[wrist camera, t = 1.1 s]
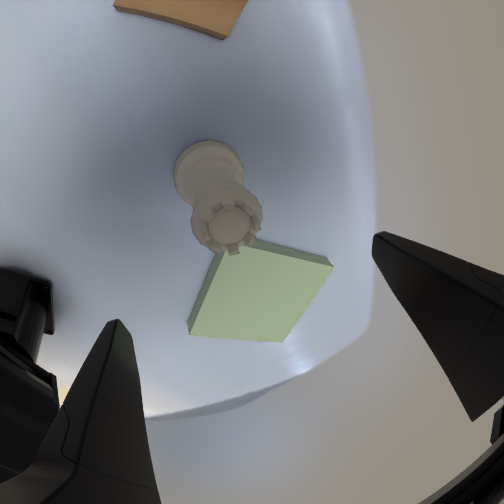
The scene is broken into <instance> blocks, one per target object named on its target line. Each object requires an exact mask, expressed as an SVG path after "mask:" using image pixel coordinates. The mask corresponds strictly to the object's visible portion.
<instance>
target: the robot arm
mask: <svg viewBox="0 0 504 504" xmlns="http://www.w3.org/2000/svg"><path fill="white" fill-rule="evenodd" d="M372 257H373V259H374V261H375V263H376V264H377V266H378V268H379V269H380V271H381V273H382V275H383V276H384V278H385V280H386V282H387V283H388V285H389V287H390V288H391V290H392V292H393V293H394V295H395V296H396V297H397V299H398V300H399V302H400V303H401V305H402V306H403V307H404V309H405V311H406V312H407V313H408V315H409V316H410V318H411V319H412V321H413V322H414V324H415V325H416V327H417V328H418V330H419V331H420V333H421V334H422V336H423V338H424V339H425V341H426V342H427V344H428V346H429V347H430V349H431V350H432V352H433V354H434V355H435V357H436V359H437V360H438V362H439V364H440V365H441V367H442V369H443V370H444V372H445V374H446V375H447V377H448V378H449V381H450V383H451V384H452V386H453V388H454V390H455V392H456V393H457V395H458V397H459V399H460V401H461V403H462V404H463V406H464V408H465V410H466V412H467V414H468V416H469V418H470V420H471V421H472V422H473V421H474V420H476V419H477V418H478V417H479V416H481V415H482V414H483V413H485V412H486V411H487V410H488V409H490V408H491V407H492V406H493V405H494V404H496V403H497V402H498V401H499V400H500V399H502V400H503V402H504V275H502V274H498V273H496V272H493V271H490V270H487V269H485V268H482V267H480V266H477V265H474V264H472V263H470V262H467V261H465V260H462V259H460V258H457V257H454V256H452V255H449V254H447V253H444V252H442V251H439V250H436V249H434V248H431V247H428V246H425V245H423V244H420V243H417V242H414V241H412V240H409V239H406V238H403V237H400V236H397V235H394V234H391V233H388V232H386V231H382V232H379V233H376V234H375V235H374V236H373V244H372ZM45 286H46V287H47V288H46V287H45ZM54 330H55V328H54V316H53V302H52V285H51V284H50V283H49V282H48V281H45V280H41V279H37V278H33V277H29V276H25V275H22V274H18V273H14V272H11V271H7V270H4V269H0V504H161V501H160V497H159V492H158V490H157V484H156V480H155V475H154V471H153V466H152V461H151V456H150V450H149V445H148V439H147V432H146V426H145V419H144V411H143V403H142V394H141V385H140V377H139V372H138V367H137V362H136V356H135V351H134V345H133V339H132V336H131V334H130V333H129V331H128V330H127V329H126V327H125V326H124V325H123V323H122V322H121V321H120V320H119V319H115V320H111V321H108V322H107V323H106V325H105V327H104V328H103V330H102V332H101V333H100V335H99V337H98V338H97V340H96V342H95V344H94V345H93V347H92V349H91V351H90V353H89V354H88V356H87V358H86V360H85V362H84V363H83V365H82V367H81V369H80V371H79V373H78V374H77V376H76V378H75V380H74V382H73V384H72V386H71V388H70V390H69V392H68V394H67V396H66V398H65V400H64V402H63V405H62V406H61V408H60V405H59V397H58V389H57V380H56V376H55V375H54V374H52V373H49V372H47V371H46V370H44V369H43V368H41V367H40V366H38V365H37V364H36V361H37V356H38V352H39V348H40V344H41V340H42V336H43V333H45V334H49V335H53V334H54ZM490 442H491V444H492V446H491V447H490V448H489V449H488V450H487V451H486V452H484V453H483V454H482V455H481V456H480V457H479V458H478V459H477V460H476V461H474V462H473V463H472V464H471V465H470V466H469V467H468V468H466V469H465V470H464V471H463V472H461V473H460V474H459V475H458V476H456V477H455V478H454V479H453V480H451V481H450V482H449V483H447V484H446V485H445V486H443V487H442V488H441V489H439V490H438V491H436V492H435V493H434V494H432V495H431V496H429V497H428V498H426V499H425V500H423V501H422V502H420V503H419V504H504V404H503V405H502V406H501V407H500V408H499V409H498V410H497V411H496V412H495V414H494V420H493V427H492V433H491V439H490Z"/></svg>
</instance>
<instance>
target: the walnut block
mask: <svg viewBox="0 0 504 504" xmlns="http://www.w3.org/2000/svg"><path fill="white" fill-rule="evenodd" d="M247 1H248V0H115V2H114V4H113V6H114V7H115V9H116V10H117V11H121V12H126V13H132V14H137V15H141V16H146V17H150V18H154V19H158V20H162V21H166V22H170V23H173V24H177V25H180V26H183V27H187V28H190V29H193V30H196V31H199V32H202V33H205V34H208V35H211V36H214V37H216V38H219V39H222V40H223V39H225V38H226V37H228V35H229V33H230V31H231V29H232V27H233V26H234V24H235V22H236V20H237V18H238V17H239V15H240V13H241V11H242V9H243V8H244V6H245V4H246V2H247Z"/></svg>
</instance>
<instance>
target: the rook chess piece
mask: <svg viewBox="0 0 504 504" xmlns="http://www.w3.org/2000/svg"><path fill="white" fill-rule="evenodd" d="M173 175H174V181H175V186H176V188H177V191H178V193H179V194H180V196H181V197H182V199H183V200H184V201H185V202H186V203H188V204H190V205H191V206H192V207H193V213H192V217H191V221H190V222H191V227H192V232H193V234H194V236H195V237H196V238H197V240H198V241H199V242H200V243H201V244H203V245H204V246H206V247H208V248H209V250H211V251H213V252H215V253H216V254H218V255H219V253H220V251H228V254H229V256H231V255H236V254H240V252H239V249H238V248H239V247H240V246H242V245H244V244H246V245H247V246H248V247H249V248H250V247H251V246H252V245H253V244H254V243H255V242H256V240H257V239H256V237H255V234H256V233H257V232H258V230H261V229H260V224H261V222H262V207H261V205H260V203H259V202H258V200H257V198H256V196H254V195H253V194H252V193H250V192H249V191H247V190H246V189H244V187H242V183H243V167H242V164H241V163H240V161H239V159H238V157H237V155H236V153H235V152H234V150H232V149H231V148H230V147H228V146H227V145H225V144H224V143H221V142H216V141H212V140H209V141H203V142H197V143H195V144H193V145H192V146H190V147H188V148H187V149H185V150H184V151H183V153H182V154H181V155H180V157H179V158H178V159H177V161H176V164H175V168H174V172H173Z"/></svg>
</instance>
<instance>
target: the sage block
mask: <svg viewBox="0 0 504 504" xmlns="http://www.w3.org/2000/svg"><path fill="white" fill-rule="evenodd" d="M238 249H239V252H240V254H236V255H231V256H229V254H228V251H220V253H219V255H218V254H216V255H215V257H214V260H213V262H212V264H211V267H210V269H209V272H208V274H207V276H206V279H205V281H204V284H203V286H202V288H201V291H200V293H199V296H198V298H197V301H196V303H195V306H194V308H193V310H192V313H191V315H190V318H189V320H188V330H189V335H192V336H202V337H211V338H222V339H234V340H248V341H264V342H283V341H284V340H285V338H286V337H287V336H288V334H289V333H290V331H291V330H292V329H293V327H294V326H295V324H296V323H297V322H298V320H299V319H300V317H301V316H302V314H303V313H304V312H305V310H306V309H307V307H308V306H309V304H310V303H311V301H312V300H313V298H314V297H315V295H316V294H317V292H318V291H319V289H320V288H321V286H322V285H323V283H324V282H325V280H326V279H327V277H328V276H329V274H330V273H331V271H332V269H333V268H334V267H333V265H332V264H331V263H330V262H329V260H328V259H327V258H326V257H322V256H318V255H314V254H311V253H307V252H303V251H299V250H295V249H291V248H287V247H283V246H279V245H275V244H271V243H268V242H264V241H260V240H256V242H255V243H254V244H253V245H252V246H251V247H250V248H249V247H248V246H247V245H246V244H244V245H242V246H240V247H239V248H238Z"/></svg>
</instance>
